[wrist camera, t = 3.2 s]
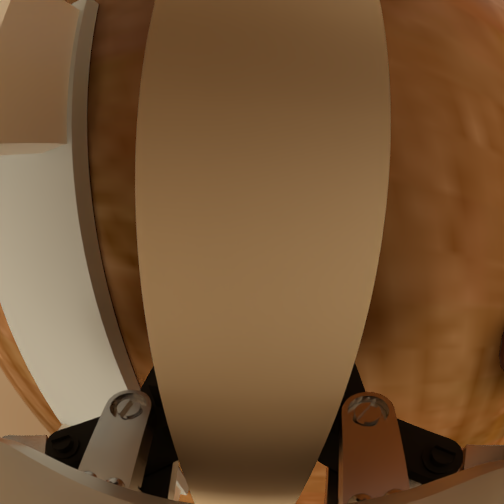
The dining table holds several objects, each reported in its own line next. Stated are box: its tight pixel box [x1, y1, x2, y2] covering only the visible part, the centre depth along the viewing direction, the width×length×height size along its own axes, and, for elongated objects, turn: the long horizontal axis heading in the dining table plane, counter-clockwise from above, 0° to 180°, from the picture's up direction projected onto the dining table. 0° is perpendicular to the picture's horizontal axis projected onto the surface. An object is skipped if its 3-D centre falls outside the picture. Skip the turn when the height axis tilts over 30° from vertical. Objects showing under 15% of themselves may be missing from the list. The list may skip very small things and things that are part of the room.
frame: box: [0, 0, 189, 501], centre depth 9 cm, size 30×8×5 cm, turn 4°
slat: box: [135, 0, 391, 504], centre depth 8 cm, size 22×3×6 cm, turn 178°
